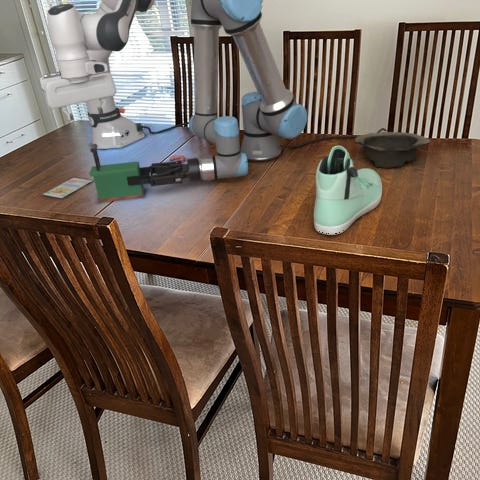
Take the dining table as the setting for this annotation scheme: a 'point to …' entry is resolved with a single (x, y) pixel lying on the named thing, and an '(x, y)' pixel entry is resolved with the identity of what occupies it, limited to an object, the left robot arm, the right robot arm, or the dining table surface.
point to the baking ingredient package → (67, 187)
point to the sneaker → (343, 192)
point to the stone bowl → (391, 147)
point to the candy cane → (178, 158)
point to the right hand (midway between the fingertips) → (128, 177)
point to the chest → (117, 187)
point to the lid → (110, 166)
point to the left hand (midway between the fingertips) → (86, 116)
